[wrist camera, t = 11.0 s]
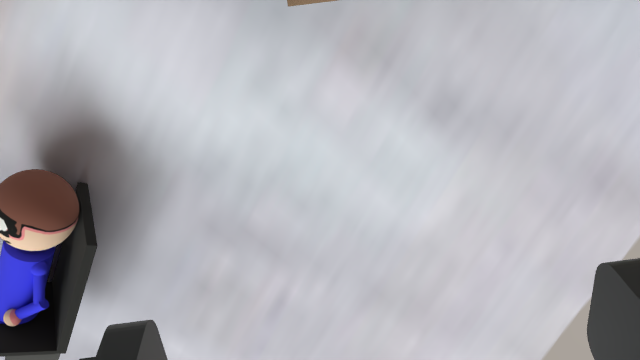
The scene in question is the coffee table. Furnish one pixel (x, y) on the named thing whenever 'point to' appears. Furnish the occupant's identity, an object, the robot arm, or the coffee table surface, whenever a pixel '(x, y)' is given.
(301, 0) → the channel
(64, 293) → the character figurine
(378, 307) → the coffee table surface
